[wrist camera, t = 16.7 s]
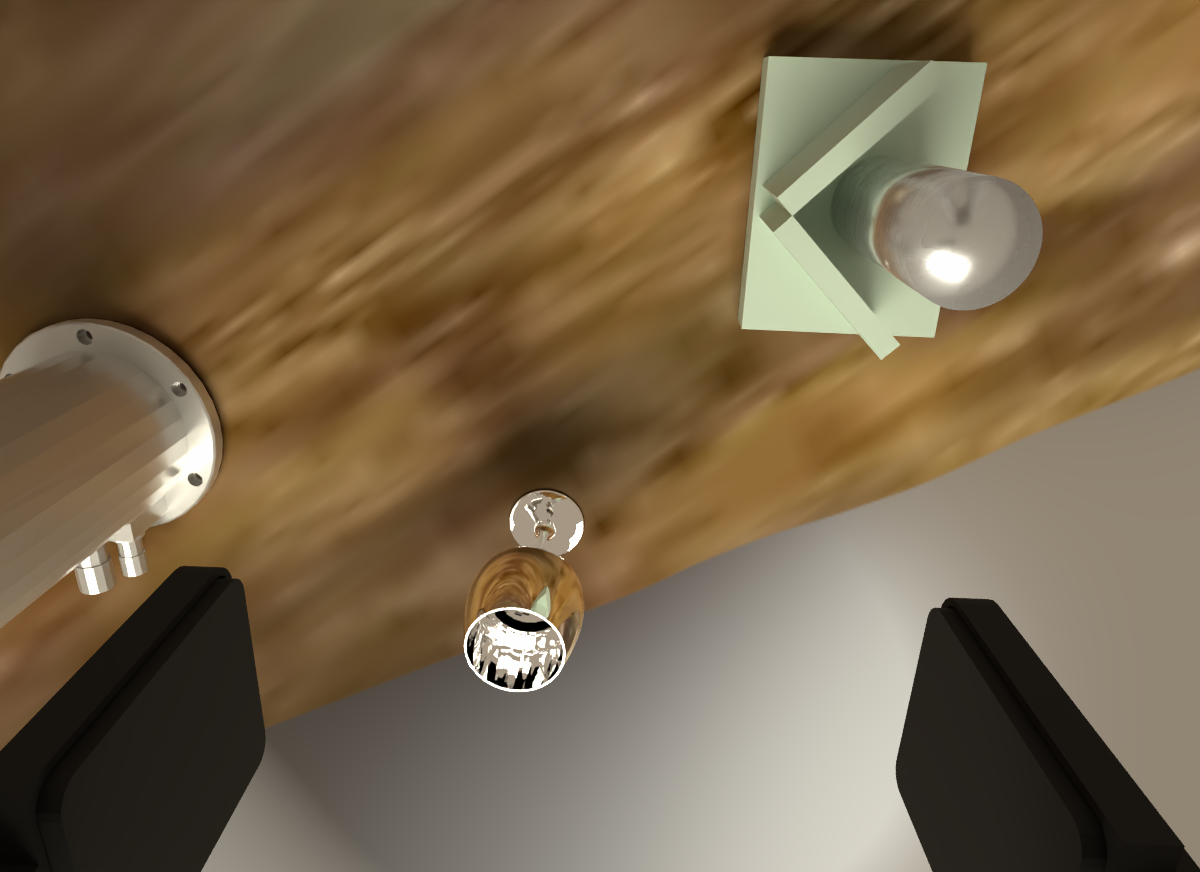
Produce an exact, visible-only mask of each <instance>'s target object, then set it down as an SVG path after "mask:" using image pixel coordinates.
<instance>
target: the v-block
mask: <svg viewBox="0 0 1200 872" xmlns="http://www.w3.org/2000/svg"><path fill="white" fill-rule="evenodd" d="M986 68H987V63H979V62H946V61H932V60H928V61H913V60H879V59H846V58H813V57H780V56H768V57H765V58H763V65H762V76H761V86H760V96H759V107H758V117H757V127H756V137H755V148H754V158H753V168H752V178H751V189H750V199H749V209H748V220H747V230H746V240H745V250H744V261H743V271H742V281H741V291H740V302H739V312H738V321H739V323H740V326H741V328H742V329H757V330H779V331H802V332H824V333H846V334H859V335H860V336H861V337H862V338H863V340H864V341H865V342H866V343H867V344H868V345H869V346H870V348H871V349H872V350H873V351H874V352H875V353H876V355H877V356H878V357H879V358H880V359H881V360H882V359H883V358H884V357H885V356H887V355H888V354H889V353H891V352H892V351H893V350H894V349H896V348H897V347H898V346H900V344H899V343H898V342H897V341H896V339H895V338H894V337H893V336H913V337H934V336H935V331H936V326H937V321H938V315H939V310H940V306H939V305H936V304H934V303H933V302H931V301H929V300H928V299H926V298H925V297H923V296H922V295H921V294H919V293H918V292H916V291H915V290H913V289H912V288H910V287H909V286H908V285H906V284H905V283H903V282H902V281H900V280H899V279H897V278H896V277H894V276H893V275H892V274H890V273H889V272H887V271H886V270H884V269H883V268H881V267H880V266H879V265H877V264H876V263H874V262H873V261H871V260H870V259H868V258H867V257H866V256H864V255H863V254H861V253H860V252H858V251H857V250H855V249H854V248H853V247H851V246H850V245H848V244H847V243H846V242H845V241H844V240H843V239H842V238H841V237H840V236H839V234H838V233H837V231H836V229H835V227H834V224H833V221H832V215H831V205H832V199H833V195H834V192H835V189H836V187H837V185H838V183H839V182H840V180H841V179H842V177H843V176H844V175H845V174H846V173H847V172H848V171H849V170H850V169H851V168H852V167H853V166H855V165H856V164H858V163H859V162H861V161H863V160H865V159H868V158H871V157H875V156H883V155H888V156H895V157H900V158H905V159H910V160H915V161H920V162H925V163H930V164H935V165H940V166H945V167H950V168H955V169H960V170H965V171H967V166H968V161H969V155H970V150H971V145H972V140H973V135H974V130H975V124H976V119H977V114H978V109H979V104H980V99H981V93H982V88H983V83H984V78H985V73H986Z"/></svg>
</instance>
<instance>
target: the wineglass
mask: <svg viewBox="0 0 1200 872" xmlns="http://www.w3.org/2000/svg"><path fill="white" fill-rule="evenodd" d="M509 526H510V530H511V533H512V535H513V537H514V539H515V540H516V542H517V543H518V544H519V545H520V547H514V548H510V549H507V550H505V551H502V552H500V553H498V554H497V555H495V556H494V557H492V558H491V559H490V560H489V561H488V562H487V563H485V564H484V566H483V567H482V568H481V570H480V571H479V572H478V574H477V575H476V577H475V579H474V580H473V582H472V585H471V587H470V590H469V593H468V596H467V600H466V605H465V613H464V625H463V630H464V649H465V655H466V658H467V660H468V663H469V665H470V666H471V668H472V669H473V670H474V672H475V673H476V674H477V675H478V676H479V677H480V678H482V679H483V680H484V681H486V682H487V683H489V684H490V685H492V686H495V687H497V688H500V689H503V690H508V691H517V692H519V691H530V690H534V689H537V688H540V687H542V686H544V685H546V684H548V683H549V682H551V681H552V680H553V679H554V678H555V677H556V676H557V675H558V674H559V672H560V671H561V669H562V667H563V666H564V664H565V663H566V661H567V659H568V657H569V656H570V654H571V652H572V649H573V647H574V645H575V643H576V641H577V638H578V636H579V633H580V629H581V626H582V620H583V615H584V598H583V591H582V587H581V584H580V581H579V579H578V577H577V575H576V573H575V571H574V570H573V569H572V568H571V566H570V565H569V564H568V563H567V562H566V561H565V560H564V559H562V558H561V557H560V556H559V555H562V554H565V553H567V552H569V551H570V550H572V549H573V548H574V547H575V546H576V545H577V544H578V543H579V541H580V539H581V538H582V535H583V532H584V518H583V515H582V512H581V510H580V508H579V507H578V506H577V504H576V503H575V502H574V501H573V500H572V499H571V498H569V497H567V496H566V495H564V494H562V493H559V492H556V491H553V490H537V491H533V492H530V493H527V494H526V495H524V496H523V497H521V498H520V499H519V500H518V501H517V502H516V503H515V504H514V506H513V508H512V510H511V513H510V516H509Z"/></svg>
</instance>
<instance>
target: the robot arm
mask: <svg viewBox="0 0 1200 872" xmlns="http://www.w3.org/2000/svg"><path fill="white" fill-rule="evenodd" d="M222 448H223V438H222V432H221V426H220V421H219V418H218V415H217V412H216V409H215V407H214V404H213V401H212V399H211V398H210V396H209V394H208V392H207V391H206V389H205V387H204V385H203V384H202V382H201V381H200V380H199V378H198V377H197V376H196V375H195V373H194V372H193V371H192V370H191V368H190V367H189V366H188V365H187V364H186V363H185V362H184V361H183V360H182V359H181V358H180V357H179V356H178V355H176V354H175V353H174V352H173V351H172V350H171V349H170V348H168V347H167V346H165V345H164V344H162V343H161V342H159V341H158V340H156V339H155V338H153V337H152V336H150V335H148V334H146V333H143V332H141V331H139V330H137V329H135V328H133V327H130V326H127V325H124V324H120V323H116V322H113V321H109V320H100V319H89V318H85V319H75V320H66V321H63V322H60V323H57V324H54V325H51V326H47V327H45V328H43V329H41V330H39V331H37V332H34V333H32V334H30V335H29V336H27V337H26V338H25V339H24V340H23V341H21V342H20V343H19V344H18V345H16V346H15V348H14V349H13V350H12V352H11V353H10V354H9V356H8V357H7V358H6V360H5V362H4V364H3V366H2V369H1V371H0V628H2V627H3V626H4V625H5V624H6V623H8V622H9V621H10V620H11V619H13V618H14V617H15V616H16V615H18V614H19V613H20V612H21V611H23V610H24V609H25V608H26V607H27V606H29V605H30V604H31V603H32V602H34V601H35V600H36V599H37V598H39V597H40V596H41V595H42V594H43V593H45V592H46V591H47V590H48V589H50V588H51V587H52V586H53V585H55V584H56V583H57V582H58V581H60V580H61V579H62V578H63V577H64V576H66V575H67V574H68V573H69V572H71V571H72V570H73V569H74V570H75V574H76V578H77V582H78V586H79V590H80V591H81V592H82V593H83V594H89V595H92V594H99V593H102V592H105V591H108V590H109V589H111V588H113V587H114V586H115V585H116V583H117V580H116V576H115V571H114V567H113V563H112V558H111V556H110V554H109V553H108V549H107V544H106V542H108V541H112V542H115V543H117V545H118V549H119V560H120V564H121V569H122V573H123V575H124V576H127V577H135V576H139V575H142V574H144V573H145V572H147V571H148V569H149V565H148V560H147V555H146V551H145V549H144V547H143V543H142V537H143V536H144V535H145V532H146V530H147V529H148V528H149V527H153V526H157V525H160V524H164V523H168V522H170V521H172V520H174V519H176V518H178V517H180V516H182V515H184V514H185V513H186V512H188V511H189V510H190V509H191V508H192V507H194V506H195V505H196V504H197V503H198V502H199V501H200V500H201V499H202V498H203V497H204V496H205V495H206V494H207V493H208V491H209V490H210V488H211V487H212V485H213V483H214V481H215V479H216V477H217V475H218V472H219V468H220V464H221V461H222ZM265 739H266V738H265V728H264V721H263V715H262V708H261V701H260V694H259V687H258V681H257V674H256V667H255V660H254V653H253V647H252V640H251V633H250V626H249V619H248V612H247V606H246V599H245V592H244V587H243V584H242V582H241V581H240V580H239V579H232V577H231V574H230V573H229V571H228V570H227V569H225V568H221V567H197V566H181V567H179V568H178V569H176V570H175V571H174V572H173V573H172V574H171V575H170V576H169V577H168V578H167V579H166V580H165V581H164V582H163V583H162V584H161V585H160V586H159V587H158V588H157V589H156V590H155V592H154V593H153V594H152V595H151V596H150V597H149V598H148V599H147V600H146V601H145V602H144V603H143V604H142V605H141V606H140V607H139V608H138V609H137V610H136V611H135V612H134V613H133V614H132V615H131V616H130V617H129V618H128V620H127V621H126V622H125V623H124V624H123V625H122V626H121V627H120V628H119V629H118V630H117V631H116V632H115V633H114V634H113V635H112V636H111V637H110V638H109V639H108V640H107V641H106V642H105V643H104V644H103V645H102V646H101V647H100V649H99V650H98V651H97V652H96V653H95V654H94V655H93V656H92V657H91V658H90V659H89V660H88V661H87V662H86V663H85V664H84V665H83V666H82V667H81V668H80V669H79V670H78V671H77V672H76V673H75V674H74V675H73V677H72V678H71V679H70V680H69V681H68V682H67V683H66V684H65V685H64V686H63V687H62V688H61V689H60V690H59V691H58V692H57V693H56V694H55V695H54V696H53V697H52V698H51V699H50V700H49V701H48V702H47V703H46V704H45V706H44V707H43V708H42V709H41V710H40V711H39V712H38V713H37V714H36V715H35V716H34V717H33V718H32V719H31V720H30V721H29V722H28V723H27V724H26V725H25V726H24V727H23V728H22V729H21V730H20V731H19V732H18V733H17V735H16V736H15V737H14V738H13V739H12V740H11V741H10V742H9V743H8V744H7V745H6V746H5V747H4V748H3V749H2V750H1V751H0V872H201V870H202V869H203V867H204V865H205V863H206V861H207V859H208V857H209V856H210V854H211V852H212V850H213V848H214V847H215V845H216V843H217V841H218V839H219V837H220V836H221V834H222V832H223V830H224V828H225V827H226V824H227V823H228V821H229V819H230V817H231V816H232V814H233V812H234V810H235V808H236V806H237V805H238V803H239V801H240V799H241V797H242V796H243V794H244V792H245V790H246V788H247V786H248V785H249V783H250V781H251V779H252V777H253V776H254V774H255V772H256V770H257V768H258V766H259V764H260V762H261V760H262V756H263V753H264V748H265ZM896 780H897V785H898V789H899V792H900V794H901V797H902V799H903V801H904V804H905V806H906V809H907V811H908V814H909V816H910V818H911V821H912V823H913V826H914V828H915V830H916V833H917V835H918V838H919V840H920V843H921V845H922V847H923V850H924V852H925V855H926V857H927V859H928V862H929V864H930V867H931V869H932V871H933V872H1200V869H1199V867H1198V866H1197V865H1196V863H1195V862H1194V861H1193V859H1192V858H1191V857H1190V855H1189V854H1188V853H1187V852H1186V850H1185V849H1184V847H1185V846H1184V845H1183V844H1182V842H1181V841H1180V840H1179V838H1178V837H1177V836H1176V835H1175V833H1174V832H1173V831H1172V829H1171V828H1170V827H1169V826H1168V824H1167V823H1166V822H1165V820H1164V819H1163V818H1162V817H1161V815H1160V814H1159V813H1158V811H1157V810H1156V809H1155V807H1154V806H1153V805H1152V803H1151V802H1150V801H1149V800H1148V798H1147V797H1146V796H1145V795H1144V793H1143V792H1142V791H1141V789H1140V788H1139V787H1138V785H1137V784H1136V783H1135V781H1134V780H1133V779H1132V778H1131V776H1130V775H1129V774H1128V772H1127V771H1126V770H1125V769H1124V767H1123V766H1122V765H1121V763H1120V762H1119V761H1118V759H1117V758H1116V757H1115V756H1114V754H1113V753H1112V752H1111V751H1110V749H1109V748H1108V747H1107V745H1106V744H1105V743H1104V741H1103V740H1102V739H1101V737H1100V736H1099V735H1098V734H1097V732H1096V731H1095V730H1094V728H1093V727H1092V726H1091V725H1090V723H1089V722H1088V721H1087V719H1086V718H1085V717H1084V716H1083V715H1082V713H1081V712H1080V710H1079V709H1078V708H1077V706H1076V705H1075V704H1074V702H1073V701H1072V700H1071V699H1070V697H1069V696H1068V695H1067V693H1066V692H1065V691H1064V690H1063V688H1062V687H1061V686H1060V684H1059V683H1058V682H1057V680H1056V679H1055V678H1054V677H1053V675H1052V674H1051V673H1050V671H1049V670H1048V669H1047V668H1046V666H1045V665H1044V664H1043V662H1042V661H1041V660H1040V658H1039V657H1038V656H1037V655H1036V653H1035V652H1034V651H1033V649H1032V648H1031V647H1030V646H1029V644H1028V643H1027V642H1026V640H1025V639H1024V638H1023V636H1022V635H1021V634H1020V633H1019V631H1018V630H1017V629H1016V627H1015V626H1014V625H1013V624H1012V622H1011V621H1010V620H1009V618H1008V617H1007V616H1006V614H1005V613H1004V612H1003V611H1002V609H1001V608H1000V607H999V605H998V604H997V603H995V602H994V601H993V600H989V599H969V598H948V599H946V600H945V601H944V603H943V604H942V607H941V608H933V609H931V611H930V613H929V615H928V618H927V623H926V628H925V632H924V637H923V642H922V646H921V650H920V655H919V660H918V664H917V669H916V673H915V678H914V683H913V687H912V692H911V696H910V701H909V705H908V710H907V715H906V719H905V724H904V729H903V733H902V738H901V742H900V747H899V751H898V756H897V761H896Z"/></svg>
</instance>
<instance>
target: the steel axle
mask: <svg viewBox="0 0 1200 872" xmlns="http://www.w3.org/2000/svg"><path fill="white" fill-rule="evenodd" d="M831 215H832V221H833V224H834V227H835V229H836V231H837V233H838V234H839V236H840V237H841V238H842V239H843V240H844V241H845V242H846V243H847V244H848V245H850V246H851V247H853V248H854V249H855V250H857V251H858V252H860V253H861V254H863V255H864V256H866V257H867V258H868V259H870V260H871V261H873V262H874V263H876V264H877V265H879V266H880V267H881V268H883V269H884V270H886V271H887V272H889V273H890V274H892V275H893V276H894V277H896V278H897V279H899V280H900V281H902V282H903V283H905V284H906V285H908V286H909V287H910V288H912V289H913V290H915V291H916V292H918V293H919V294H921V295H922V296H923V297H925V298H926V299H928V300H929V301H931V302H933V303H934V304H936V305H939V306H941V307H944V308H948V309H953V310H973V309H979V308H983V307H986V306H989V305H991V304H994V303H996V302H998V301H1000V300H1002V299H1003V298H1005V297H1006V296H1008V295H1009V294H1011V293H1012V292H1013V291H1014V290H1015V289H1017V288H1018V287H1019V286H1020V284H1021V283H1022V282H1023V281H1024V280H1025V279H1026V277H1027V276H1028V275H1029V273H1030V272H1031V270H1032V268H1033V267H1034V265H1035V263H1036V260H1037V258H1038V255H1039V252H1040V249H1041V243H1042V221H1041V217H1040V213H1039V211H1038V209H1037V206H1036V204H1035V203H1034V201H1033V200H1032V198H1031V197H1030V196H1029V195H1028V193H1027V192H1026V191H1024V190H1023V189H1022V188H1021V187H1020V186H1018V185H1016V184H1015V183H1013V182H1011V181H1009V180H1006V179H1003V178H999V177H995V176H990V175H985V174H980V173H975V172H970V171H965V170H960V169H955V168H950V167H945V166H940V165H935V164H930V163H925V162H920V161H915V160H910V159H905V158H900V157H895V156H888V155H883V156H875V157H871V158H868V159H865V160H863V161H861V162H859V163H858V164H856V165H855V166H853V167H852V168H851V169H850V170H849V171H848V172H847V173H846V174H845V175H844V176H843V177H842V179H841V180H840V182H839V183H838V185H837V187H836V189H835V192H834V195H833V199H832V205H831Z"/></svg>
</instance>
